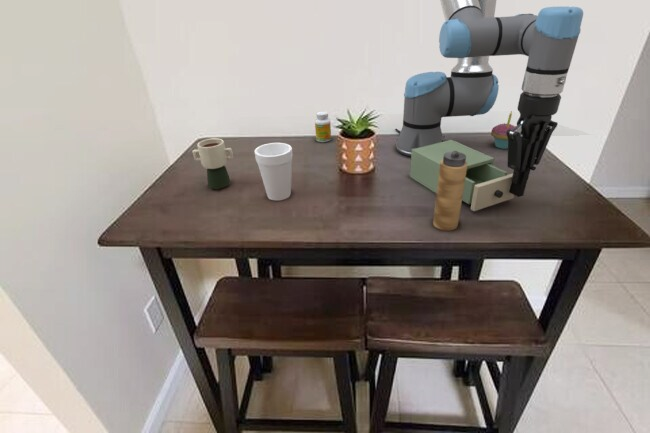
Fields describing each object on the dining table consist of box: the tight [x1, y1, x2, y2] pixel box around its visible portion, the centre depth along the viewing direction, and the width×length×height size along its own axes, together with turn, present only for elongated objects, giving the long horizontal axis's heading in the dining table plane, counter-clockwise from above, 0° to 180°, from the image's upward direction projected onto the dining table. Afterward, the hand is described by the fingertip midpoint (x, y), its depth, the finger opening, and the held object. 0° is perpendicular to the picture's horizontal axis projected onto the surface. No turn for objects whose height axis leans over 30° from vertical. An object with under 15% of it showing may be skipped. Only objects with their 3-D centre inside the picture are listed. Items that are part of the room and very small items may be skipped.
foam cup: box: [254, 142, 294, 201], centre depth 99 cm, size 10×9×13 cm
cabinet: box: [409, 139, 495, 194], centre depth 102 cm, size 16×14×8 cm
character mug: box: [192, 137, 234, 190], centre depth 106 cm, size 11×7×13 cm, turn 91°
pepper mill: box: [432, 151, 468, 232], centre depth 82 cm, size 5×5×18 cm
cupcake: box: [490, 111, 517, 150], centre depth 121 cm, size 9×8×12 cm
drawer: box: [462, 163, 515, 212], centre depth 95 cm, size 16×13×6 cm
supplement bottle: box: [314, 110, 332, 143], centre depth 134 cm, size 5×5×10 cm
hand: (516, 193), depth 91 cm, fingers closed
